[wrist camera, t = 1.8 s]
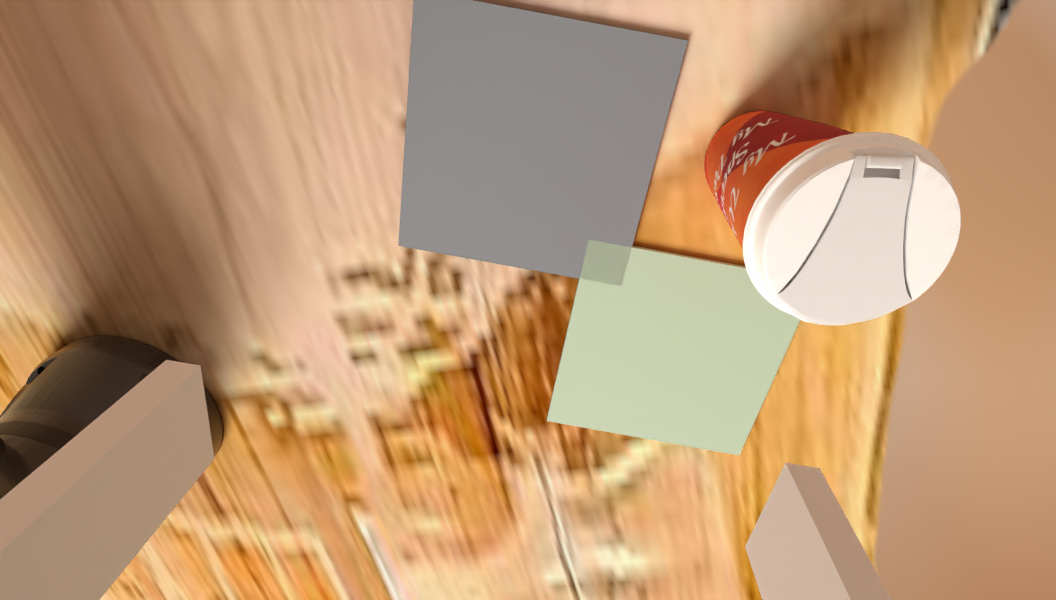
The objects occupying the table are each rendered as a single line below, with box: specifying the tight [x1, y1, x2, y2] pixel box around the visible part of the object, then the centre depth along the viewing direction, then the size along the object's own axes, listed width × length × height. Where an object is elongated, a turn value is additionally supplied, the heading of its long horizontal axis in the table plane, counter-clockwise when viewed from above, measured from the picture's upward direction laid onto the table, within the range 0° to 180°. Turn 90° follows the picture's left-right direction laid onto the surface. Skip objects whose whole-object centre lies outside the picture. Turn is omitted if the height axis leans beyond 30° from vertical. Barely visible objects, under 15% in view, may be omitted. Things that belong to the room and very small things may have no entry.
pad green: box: [547, 240, 801, 455], centre depth 42 cm, size 16×16×1 cm
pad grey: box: [399, 0, 688, 286], centre depth 36 cm, size 16×16×1 cm
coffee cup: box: [705, 111, 961, 325], centre depth 29 cm, size 8×8×15 cm
